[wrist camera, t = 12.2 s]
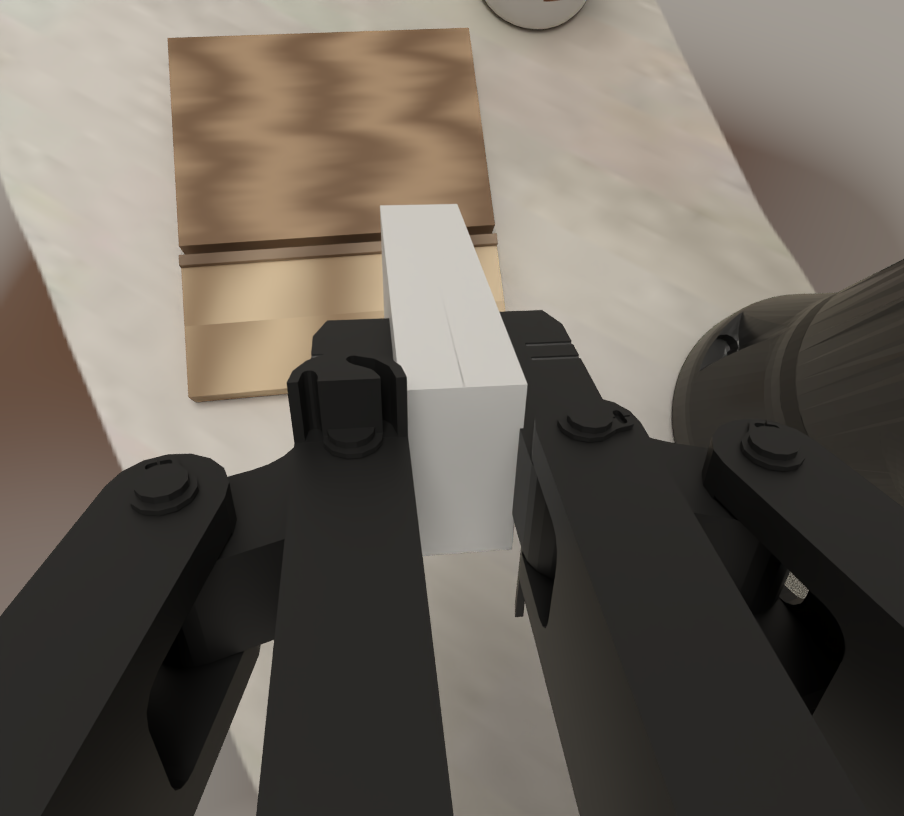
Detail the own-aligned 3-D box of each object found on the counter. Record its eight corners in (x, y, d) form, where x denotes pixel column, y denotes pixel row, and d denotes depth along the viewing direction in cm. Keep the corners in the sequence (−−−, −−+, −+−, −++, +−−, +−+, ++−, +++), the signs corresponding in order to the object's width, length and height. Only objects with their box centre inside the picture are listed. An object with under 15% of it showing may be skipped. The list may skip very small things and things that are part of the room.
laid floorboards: (491, 246, 43) (496, 233, 41) (508, 373, 41) (514, 365, 40) (187, 267, 41) (178, 255, 39) (195, 402, 39) (186, 395, 38)
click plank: (490, 235, 43) (465, 44, 45) (494, 224, 41) (468, 27, 43) (186, 256, 41) (175, 55, 43) (179, 245, 39) (167, 38, 41)
